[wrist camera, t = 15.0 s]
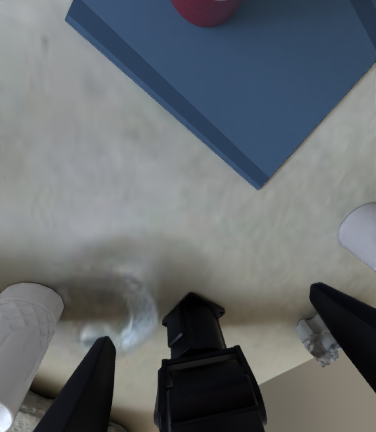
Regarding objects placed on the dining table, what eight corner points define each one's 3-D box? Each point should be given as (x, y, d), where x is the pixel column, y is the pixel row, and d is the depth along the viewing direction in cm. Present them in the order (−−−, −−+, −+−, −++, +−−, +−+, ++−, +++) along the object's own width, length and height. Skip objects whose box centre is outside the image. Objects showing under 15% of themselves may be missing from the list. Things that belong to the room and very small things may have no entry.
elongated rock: (-12, 345, 26) (-56, 372, 28) (-55, 393, 21) (-105, 423, 23) (150, 432, 39) (112, 447, 41) (146, 475, 34) (104, 490, 36)
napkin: (392, 40, 16) (396, 38, 16) (256, 189, 20) (258, 190, 20) (221, -319, 9) (224, -334, 9) (66, 21, 13) (64, 19, 13)
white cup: (-3, 269, 20) (-134, 384, 11) (77, 287, 22) (21, 395, 13) (-11, 319, 23) (-122, 445, 14) (62, 331, 25) (6, 446, 16)
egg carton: (303, 343, 34) (320, 370, 30) (288, 322, 31) (306, 349, 27) (361, 315, 32) (386, 339, 29) (352, 289, 29) (380, 313, 25)
